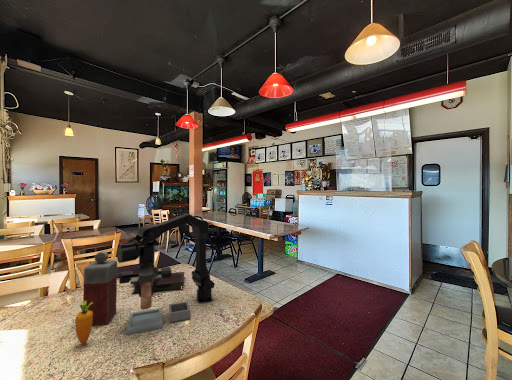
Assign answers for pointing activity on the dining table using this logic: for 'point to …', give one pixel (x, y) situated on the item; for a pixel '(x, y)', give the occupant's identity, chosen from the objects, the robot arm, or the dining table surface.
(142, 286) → the dowel pin
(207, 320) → the dining table surface
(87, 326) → the carrot
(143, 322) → the slate tray
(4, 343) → the dining table surface
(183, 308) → the grey square bin
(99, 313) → the dark red canister
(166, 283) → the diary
